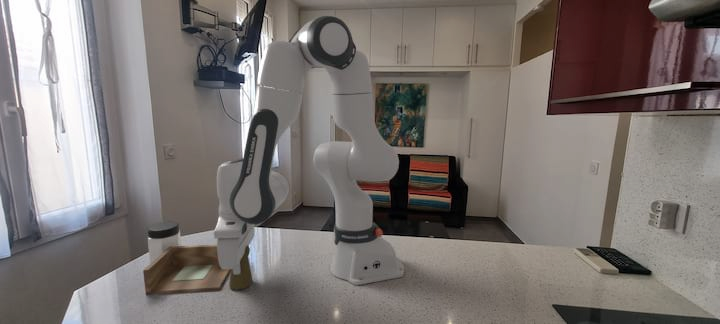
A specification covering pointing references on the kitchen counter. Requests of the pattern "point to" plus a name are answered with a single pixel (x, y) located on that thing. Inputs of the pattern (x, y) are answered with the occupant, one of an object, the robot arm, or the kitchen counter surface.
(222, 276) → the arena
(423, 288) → the kitchen counter surface
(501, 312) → the kitchen counter surface
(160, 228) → the jar
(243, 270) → the olive pepper mill
